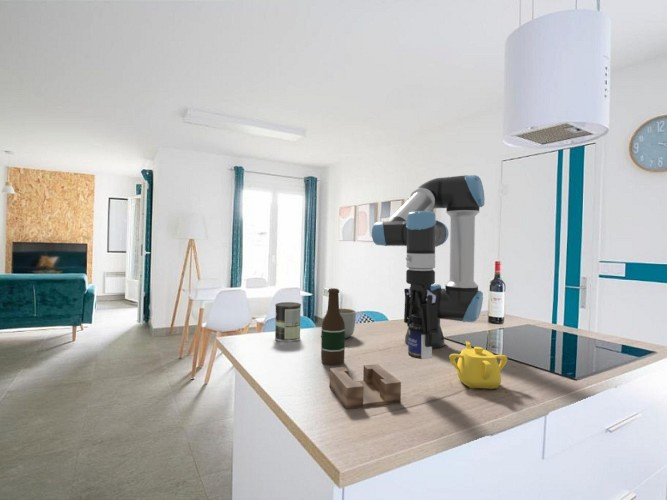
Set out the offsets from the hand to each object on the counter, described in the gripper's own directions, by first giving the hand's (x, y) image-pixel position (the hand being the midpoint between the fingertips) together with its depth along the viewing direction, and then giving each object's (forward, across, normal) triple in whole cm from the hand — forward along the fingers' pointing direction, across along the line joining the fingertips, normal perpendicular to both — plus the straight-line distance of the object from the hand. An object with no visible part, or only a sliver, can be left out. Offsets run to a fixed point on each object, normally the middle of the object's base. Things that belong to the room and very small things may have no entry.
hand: (419, 354), depth 99 cm
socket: (+9, +1, -17) cm, 19 cm away
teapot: (+10, +2, +17) cm, 20 cm away
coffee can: (+10, -59, -26) cm, 65 cm away
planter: (+10, -57, -4) cm, 58 cm away
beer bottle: (+9, -26, -17) cm, 33 cm away
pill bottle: (+1, 0, 0) cm, 1 cm away
